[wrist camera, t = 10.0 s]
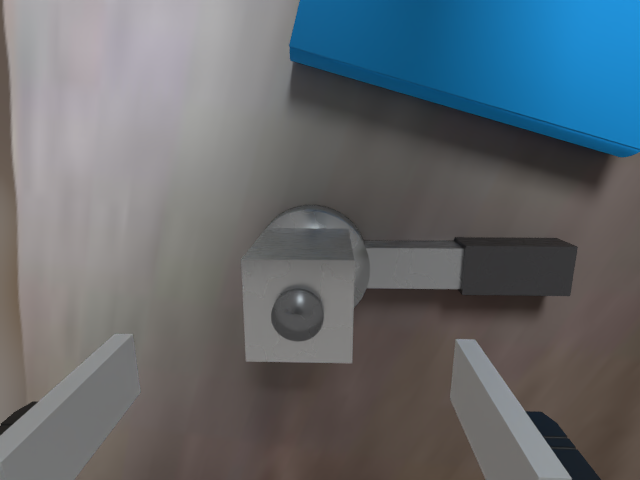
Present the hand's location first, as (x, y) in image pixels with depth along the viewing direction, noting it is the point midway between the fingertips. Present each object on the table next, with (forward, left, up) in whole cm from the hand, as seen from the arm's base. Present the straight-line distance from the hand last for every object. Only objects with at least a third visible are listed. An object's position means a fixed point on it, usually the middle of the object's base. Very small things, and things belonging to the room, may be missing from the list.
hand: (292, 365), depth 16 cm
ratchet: (0, +7, -17) cm, 18 cm away
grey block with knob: (0, 0, -14) cm, 14 cm away
